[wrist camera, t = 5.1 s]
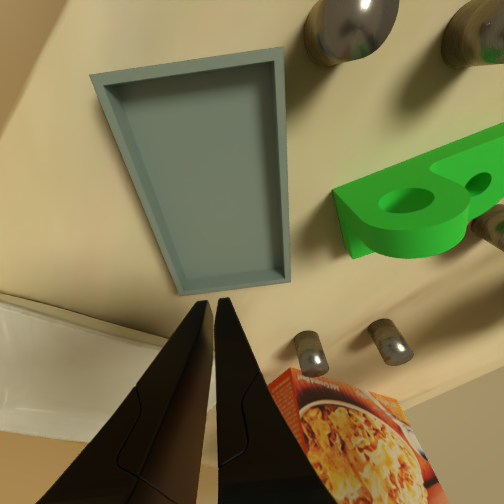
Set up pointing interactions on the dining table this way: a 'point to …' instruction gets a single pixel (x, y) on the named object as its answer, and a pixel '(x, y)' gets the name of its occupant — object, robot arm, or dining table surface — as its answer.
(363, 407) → the pasta box
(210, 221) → the parts tray
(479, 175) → the mechanical part
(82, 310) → the dining table surface
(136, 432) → the robot arm
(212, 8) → the dining table surface
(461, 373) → the dining table surface
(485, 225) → the spacer posts
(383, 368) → the dining table surface
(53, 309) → the square plate
